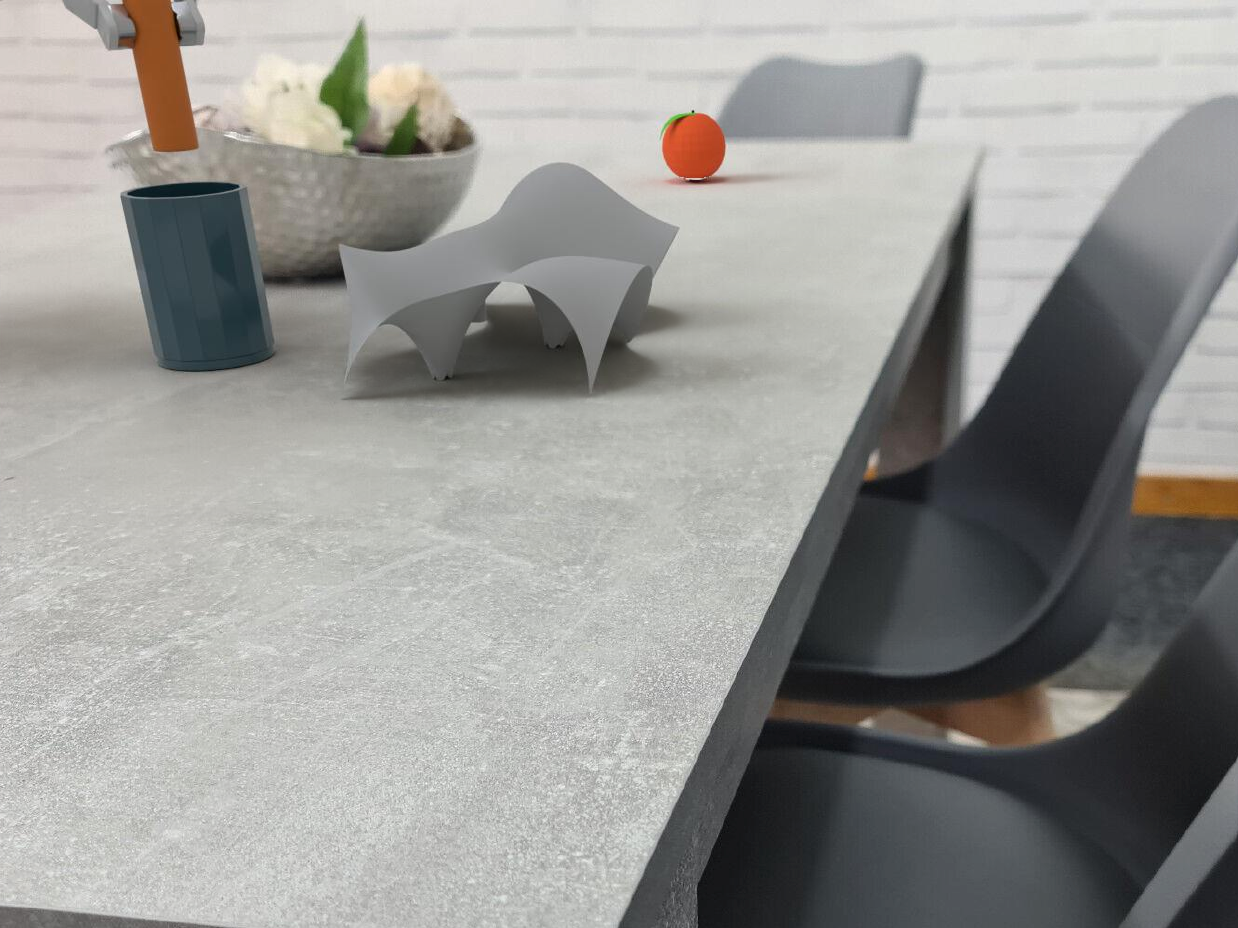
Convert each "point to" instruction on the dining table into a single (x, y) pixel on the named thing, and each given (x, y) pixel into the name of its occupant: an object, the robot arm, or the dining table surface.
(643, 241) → the sculpture
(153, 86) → the cylinder
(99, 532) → the dining table surface
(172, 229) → the can
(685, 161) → the clementine
